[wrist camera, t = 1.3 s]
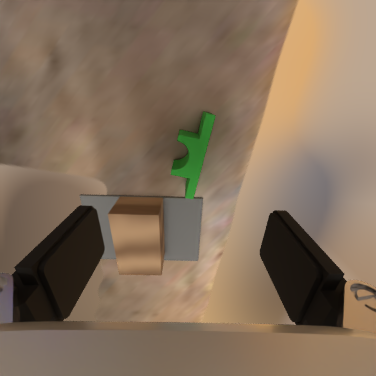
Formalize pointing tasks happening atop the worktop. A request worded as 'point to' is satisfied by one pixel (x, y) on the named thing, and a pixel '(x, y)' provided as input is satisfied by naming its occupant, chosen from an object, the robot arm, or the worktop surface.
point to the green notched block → (193, 153)
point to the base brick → (138, 235)
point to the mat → (173, 224)
